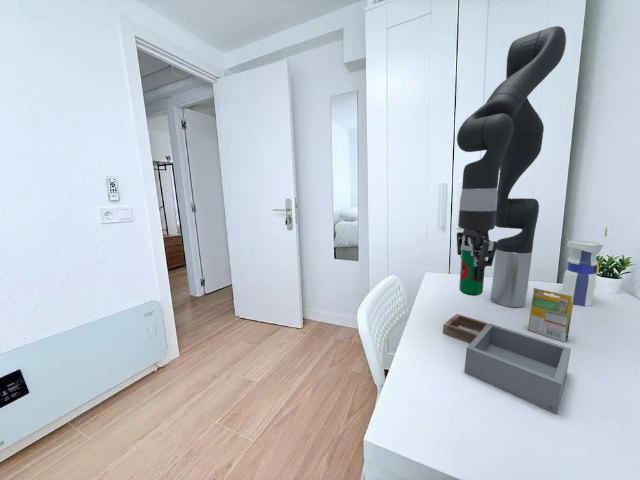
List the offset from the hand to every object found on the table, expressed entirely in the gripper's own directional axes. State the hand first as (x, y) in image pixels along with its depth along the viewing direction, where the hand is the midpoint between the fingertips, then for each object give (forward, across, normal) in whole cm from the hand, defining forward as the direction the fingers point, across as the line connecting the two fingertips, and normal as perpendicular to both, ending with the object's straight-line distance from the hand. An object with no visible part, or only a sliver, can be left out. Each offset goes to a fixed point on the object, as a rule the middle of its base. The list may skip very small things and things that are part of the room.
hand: (471, 277), depth 65 cm
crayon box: (+15, 0, -20) cm, 25 cm away
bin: (+15, -15, -2) cm, 21 cm away
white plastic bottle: (+16, +20, -44) cm, 51 cm away
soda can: (+4, 0, 0) cm, 4 cm away
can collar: (+15, 0, 0) cm, 15 cm away
